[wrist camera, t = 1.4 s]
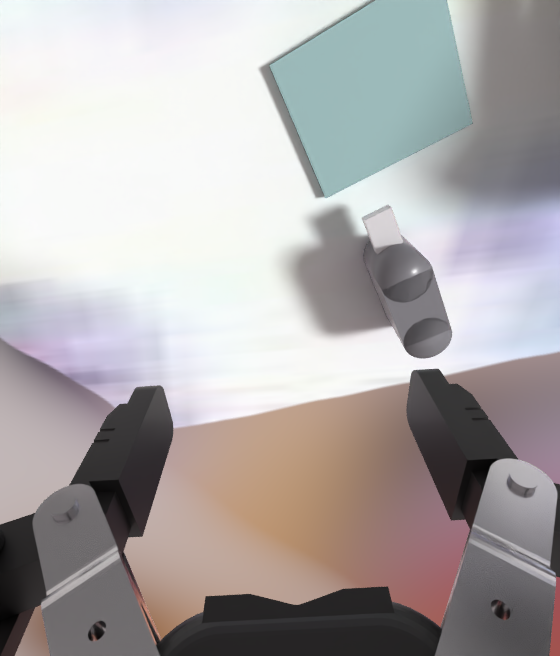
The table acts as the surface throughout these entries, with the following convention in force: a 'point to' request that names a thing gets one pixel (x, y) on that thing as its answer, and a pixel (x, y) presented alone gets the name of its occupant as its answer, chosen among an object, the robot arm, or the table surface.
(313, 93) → the teal rubber mat
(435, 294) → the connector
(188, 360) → the table surface
